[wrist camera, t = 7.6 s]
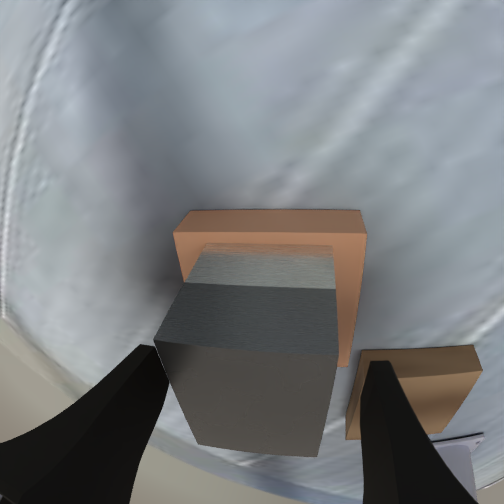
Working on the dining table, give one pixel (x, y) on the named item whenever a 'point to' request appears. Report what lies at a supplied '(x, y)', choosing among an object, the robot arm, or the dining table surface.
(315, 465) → the dining table surface
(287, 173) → the dining table surface
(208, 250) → the block
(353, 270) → the stand
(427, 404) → the stand
